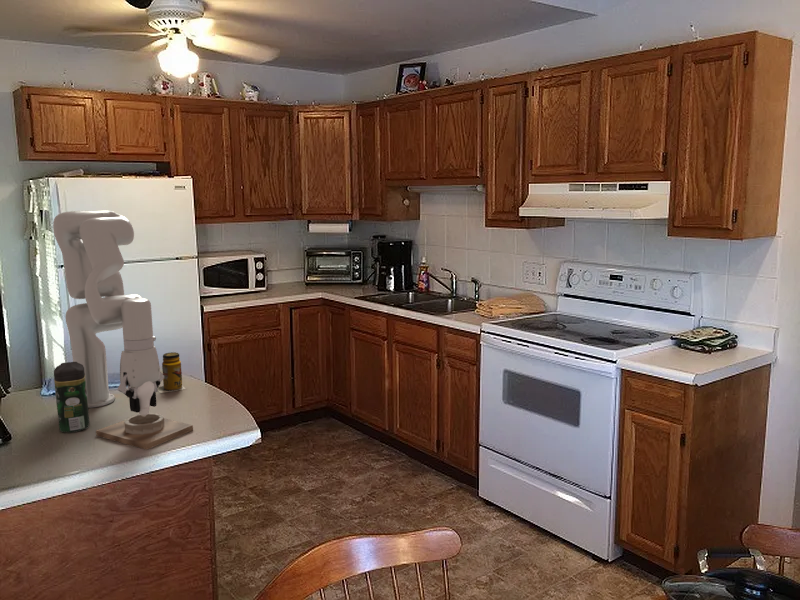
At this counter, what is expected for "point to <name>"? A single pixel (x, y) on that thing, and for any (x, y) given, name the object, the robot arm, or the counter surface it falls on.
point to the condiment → (171, 373)
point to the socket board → (145, 438)
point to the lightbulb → (145, 397)
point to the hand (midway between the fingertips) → (143, 407)
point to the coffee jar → (71, 397)
